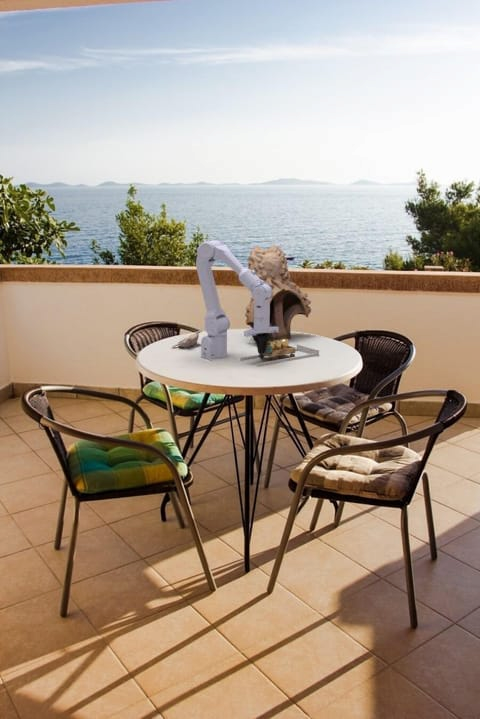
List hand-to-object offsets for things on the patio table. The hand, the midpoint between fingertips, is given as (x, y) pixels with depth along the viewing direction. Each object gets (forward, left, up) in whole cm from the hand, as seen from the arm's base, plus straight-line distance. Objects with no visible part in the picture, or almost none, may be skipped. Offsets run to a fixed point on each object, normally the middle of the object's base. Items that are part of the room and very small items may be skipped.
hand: (261, 353), depth 245 cm
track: (+9, 0, -4) cm, 9 cm away
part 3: (+11, 0, 0) cm, 11 cm away
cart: (+7, 0, -3) cm, 8 cm away
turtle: (-8, +39, -4) cm, 40 cm away
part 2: (+8, 0, 0) cm, 8 cm away
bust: (+29, +30, -4) cm, 42 cm away
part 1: (+4, 0, 0) cm, 4 cm away
